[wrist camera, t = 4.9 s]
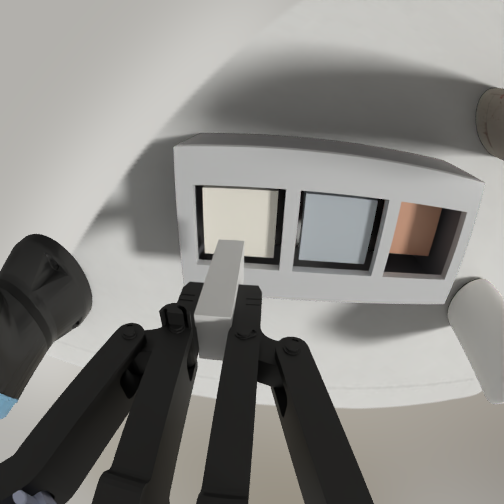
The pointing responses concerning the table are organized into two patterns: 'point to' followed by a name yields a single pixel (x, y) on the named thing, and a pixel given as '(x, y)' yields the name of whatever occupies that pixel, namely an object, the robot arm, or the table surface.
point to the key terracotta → (415, 229)
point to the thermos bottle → (491, 121)
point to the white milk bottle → (481, 333)
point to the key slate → (336, 227)
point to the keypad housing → (338, 182)
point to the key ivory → (240, 218)
